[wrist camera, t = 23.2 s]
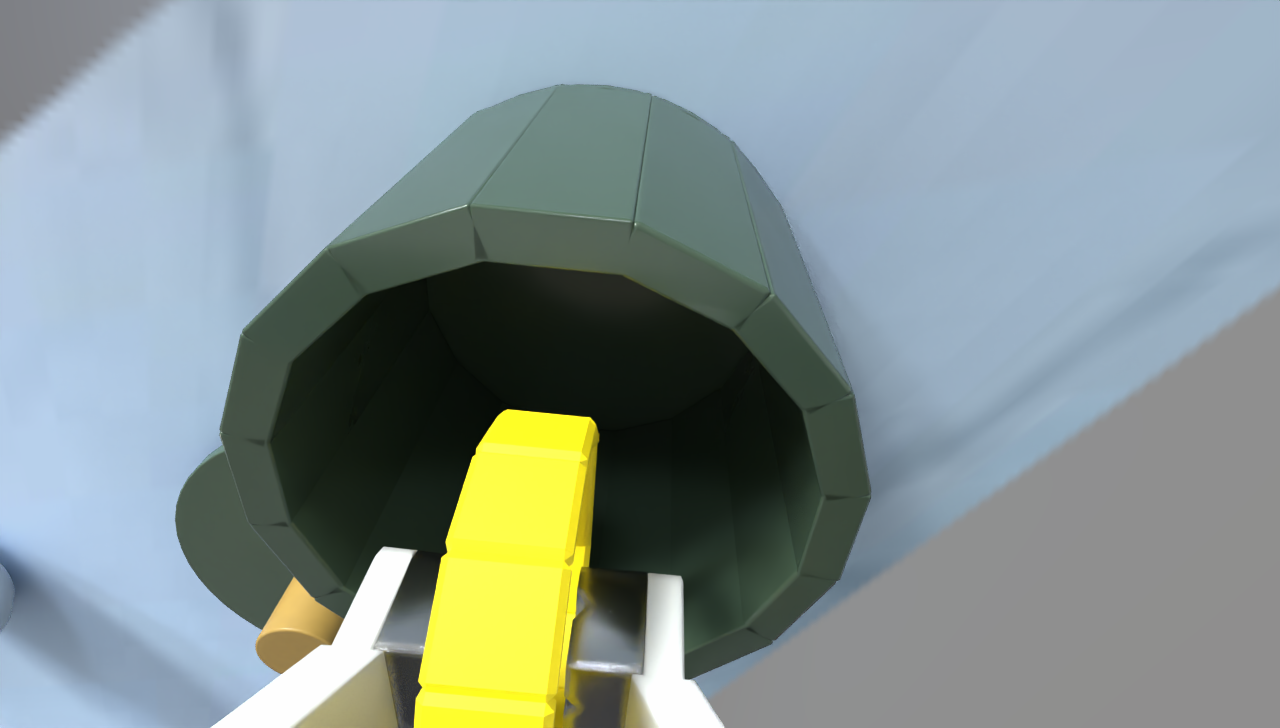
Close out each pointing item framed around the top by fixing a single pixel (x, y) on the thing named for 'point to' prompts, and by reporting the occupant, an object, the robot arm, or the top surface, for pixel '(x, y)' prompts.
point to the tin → (564, 364)
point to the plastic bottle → (5, 596)
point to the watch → (511, 577)
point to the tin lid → (247, 568)
